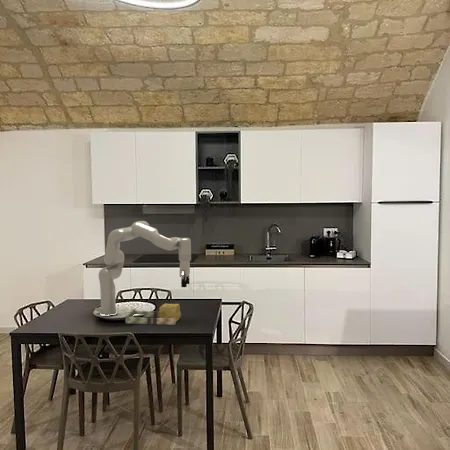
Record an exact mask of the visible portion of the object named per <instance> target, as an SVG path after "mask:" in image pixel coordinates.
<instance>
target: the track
mask: <svg viewBox="0 0 450 450" xmlns="http://www.w3.org/2000/svg"><path fill="white" fill-rule="evenodd" d="M181 313H182V311H180V316H179V319H181V318H182V317H181V316H182V314H181ZM134 314H144V316H143V317H132V316H133V315H134ZM125 324H137V325H138V324H139V325H143V324H144V325H169V326H170V325H173V326H174V325H177V321H176V319H174V318H160V317H159V311H156V310H155V311H154V310H152V311H151V310H136V309H135V308H133V309H132V310H131V311H130V312H129V313H128V314H126V315H125Z"/></svg>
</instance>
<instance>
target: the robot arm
mask: <svg viewBox="0 0 450 450" xmlns="http://www.w3.org/2000/svg"><path fill="white" fill-rule="evenodd" d="M139 237H140V238H143V239H146V240H147V241H150V242H151V243H152V244H153V245H154V246H156V247H158V248H160V249H163V250H164V251H174V250H177V249H178V261H179V277H181V280H180V281H181V283H180V288H187V286H188V285H190V273H191V267H190V266H191V265H190V264H191V263H190V262H191V261H192V245H191V244H192V241H191V238H189V237H179V236H178V237H177V236H172V237H170V238H169V237H166V236H164V235H162V234H160V233H159V230H158V229H157V228H155V227H153V226H150V224H149V222H148V221H145V220H140V221H134V222H133V223H132V224H131V225H130V226H128V227H121V228H116V229H113V230H112V231H110V232H109V234H108V236H107V242H106V246H105V251H104V255H103V262H104V264H105V265H106V266H105V267H102V268H101V269H100V270H99V272H98V281H99V286H100V287H99V288H100V307H95V309H94V311H95V312H100V313H101V314H105V315H108V314H109V315H110V314H115V313H116V311H117V310H116V309H117V307H116V306H117V305H116V303H117V302H116V300H117V299H116V284H115V281H114V280H117V279H119V278H120V277H121V275H122V272H123V268H124V264H125V254H124V252H123V250H121V249H120V248H121V242H126V241H127V242H128V241H130V240H134V239H136V238H139Z"/></svg>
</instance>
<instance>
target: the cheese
mask: <svg viewBox="0 0 450 450" xmlns="http://www.w3.org/2000/svg"><path fill="white" fill-rule="evenodd" d="M180 312H181V306H180V303H163V304H162V305H161V306H159V317H158V318H174V319H176V322H178V321H179V320H180V318H179V316H180Z"/></svg>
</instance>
